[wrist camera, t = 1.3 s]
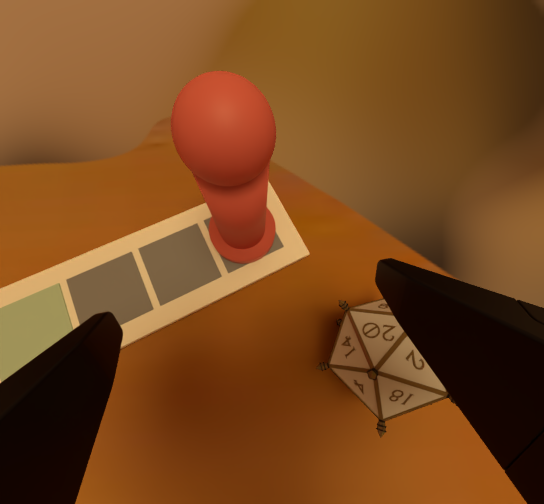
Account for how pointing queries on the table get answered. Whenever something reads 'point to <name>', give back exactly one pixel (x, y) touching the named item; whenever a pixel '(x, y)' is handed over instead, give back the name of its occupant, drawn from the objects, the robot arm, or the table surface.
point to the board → (135, 283)
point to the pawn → (229, 159)
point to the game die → (381, 363)
